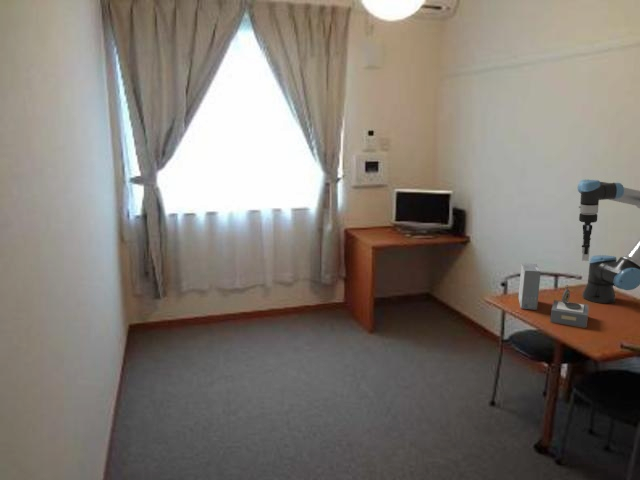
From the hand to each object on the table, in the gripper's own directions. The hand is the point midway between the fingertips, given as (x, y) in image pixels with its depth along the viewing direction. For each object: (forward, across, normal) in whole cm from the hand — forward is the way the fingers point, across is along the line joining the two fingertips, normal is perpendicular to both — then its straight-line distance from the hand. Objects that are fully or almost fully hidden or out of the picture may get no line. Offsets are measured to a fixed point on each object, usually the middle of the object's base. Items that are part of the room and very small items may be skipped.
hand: (585, 256), depth 242 cm
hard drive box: (+27, +2, -24) cm, 36 cm away
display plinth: (+27, +15, -5) cm, 31 cm away
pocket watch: (+21, +15, -5) cm, 26 cm away
